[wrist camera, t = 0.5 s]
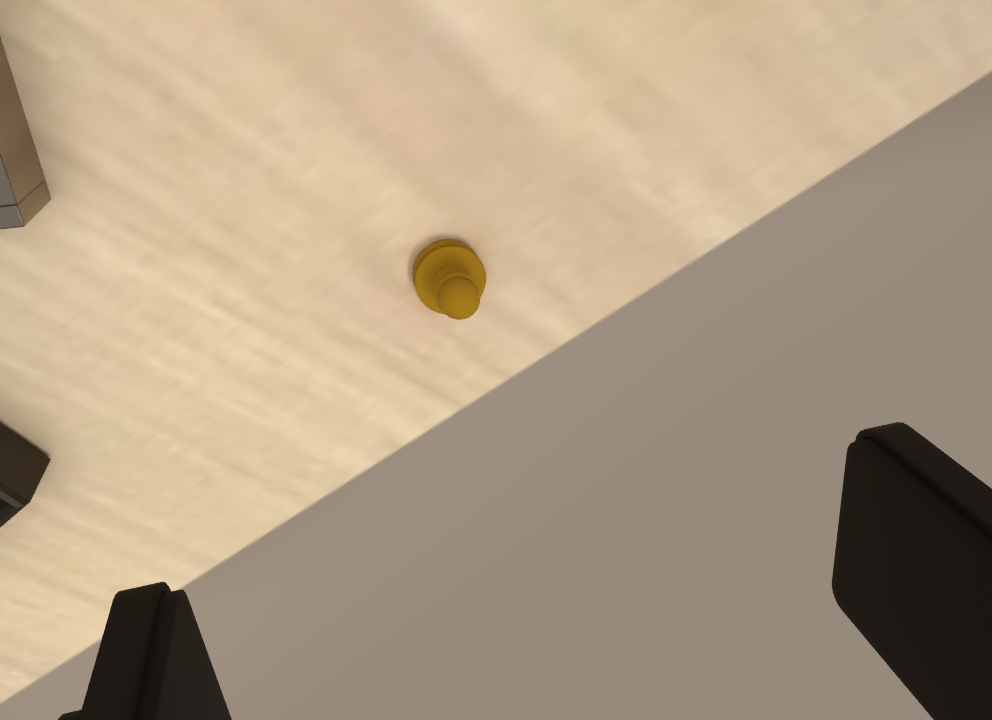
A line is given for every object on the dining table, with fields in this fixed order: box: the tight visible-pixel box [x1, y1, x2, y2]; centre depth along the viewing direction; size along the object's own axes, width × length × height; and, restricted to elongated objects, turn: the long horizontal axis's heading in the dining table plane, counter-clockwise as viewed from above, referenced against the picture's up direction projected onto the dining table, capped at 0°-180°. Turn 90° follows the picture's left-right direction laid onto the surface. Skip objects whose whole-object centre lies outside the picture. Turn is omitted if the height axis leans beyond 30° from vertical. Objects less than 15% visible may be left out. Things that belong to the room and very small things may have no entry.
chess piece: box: [413, 240, 486, 319], centre depth 44 cm, size 4×4×5 cm
